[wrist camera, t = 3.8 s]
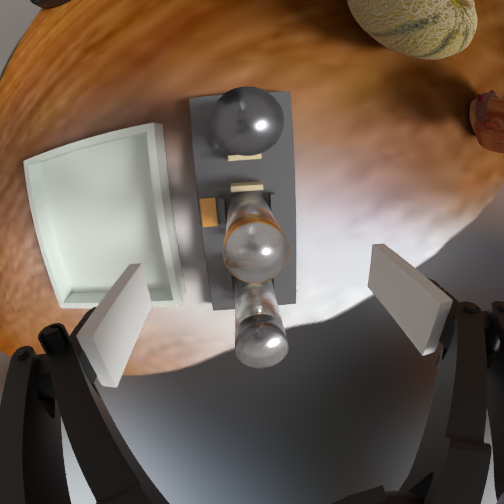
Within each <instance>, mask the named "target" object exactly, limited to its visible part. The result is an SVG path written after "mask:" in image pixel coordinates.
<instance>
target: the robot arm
mask: <svg viewBox="0 0 504 504" xmlns="http://www.w3.org/2000/svg"><path fill="white" fill-rule="evenodd" d="M30 1H31V2H32V3H33V4H35V5H37V6H39V7H41V8H52V7H56V6H59V5H61V4H64V3H66V2H68V1H70V0H30ZM368 288H369V289H370V290H371V291H372V292H373V293H374V295H375V296H376V297H377V298H378V299H379V301H380V302H381V303H382V304H383V305H384V307H385V308H386V309H387V311H388V312H389V313H390V314H391V315H392V317H393V318H394V319H395V320H396V322H397V323H398V324H399V326H400V327H401V328H402V329H403V331H404V332H405V333H406V335H407V336H408V337H409V339H410V340H411V341H412V342H413V344H414V345H415V346H416V348H417V349H418V350H419V352H420V353H421V354H422V355H426V354H429V353H432V352H434V351H435V350H436V347H437V345H438V342H439V341H440V343H441V344H442V345H443V348H442V350H441V353H440V355H439V357H438V360H437V362H436V365H437V364H438V362H439V367H438V372H437V378H436V384H435V389H434V393H433V398H432V403H431V407H430V411H429V415H428V419H427V422H426V426H425V429H424V433H423V436H422V439H421V443H420V446H419V449H418V452H417V454H416V457H415V460H414V463H413V466H412V468H411V471H410V473H409V475H408V477H407V478H406V480H405V481H404V483H403V484H402V486H401V487H400V489H399V491H384V488H383V486H379V487H376V488H373V489H370V490H367V491H363V492H360V493H357V494H353V495H350V496H347V497H345V498H343V499H341V500H339V501H337V502H335V503H332V504H481V500H482V496H483V493H484V488H485V484H486V480H487V475H488V470H489V464H490V458H491V446H490V444H486V443H484V432H485V423H486V410H488V415H489V421H490V429H491V437H492V446H493V461H494V481H495V490H496V498H497V504H504V302H502V301H495V302H493V303H492V305H491V308H490V310H489V311H481V309H480V308H479V307H478V306H477V305H475V304H474V303H471V302H458V301H457V300H456V299H455V298H454V297H453V296H452V295H450V294H449V293H448V292H447V291H445V289H443V288H442V287H441V286H440V285H439V284H438V283H436V282H435V281H433V280H431V279H429V278H427V277H425V276H424V275H423V274H422V273H420V272H419V271H418V270H416V269H415V268H414V267H413V266H412V265H410V264H409V263H408V262H407V261H405V260H404V259H403V258H402V257H400V256H399V255H398V254H396V253H395V252H394V251H393V250H391V249H390V248H389V247H387V246H386V245H385V244H374V245H372V255H371V264H370V273H369V281H368ZM151 307H152V302H151V298H150V295H149V291H148V287H147V283H146V279H145V275H144V271H143V266H142V263H137V264H129V266H128V267H127V268H126V269H125V271H124V272H123V273H122V274H121V276H120V277H119V278H118V279H117V281H116V282H115V283H114V285H113V286H112V287H111V289H110V290H109V291H108V292H107V294H106V295H105V296H104V298H103V299H102V300H101V302H100V303H99V304H98V306H97V307H93V308H92V309H91V310H89V311H88V312H87V313H86V314H85V315H84V317H83V318H82V320H81V321H80V322H79V323H78V325H77V326H76V328H75V329H74V330H73V332H72V333H71V335H70V336H69V335H68V333H67V331H66V329H65V327H64V325H63V324H60V323H55V324H51V325H49V326H47V327H45V328H44V329H43V330H41V332H40V333H39V335H38V339H39V341H40V343H41V345H42V347H43V349H44V351H45V352H46V354H39V355H36V353H35V351H34V349H33V348H32V347H30V346H24V347H20V348H19V349H17V350H16V352H15V353H14V354H13V356H12V358H11V361H10V365H9V369H8V372H7V376H6V381H5V385H4V390H3V394H2V399H1V405H0V504H71V501H70V496H69V491H68V485H67V479H66V473H65V466H64V458H63V448H62V436H61V417H62V420H63V423H64V426H65V429H66V432H67V435H68V438H69V441H70V443H71V446H72V449H73V451H74V453H75V456H76V459H77V461H78V463H79V466H80V468H81V470H82V472H83V475H84V477H85V479H86V481H87V483H88V485H89V487H90V489H91V491H92V493H93V495H94V497H95V499H96V502H97V503H96V504H169V503H168V501H167V500H166V499H165V498H164V496H163V495H162V494H161V493H160V492H159V490H158V489H157V488H156V486H155V485H154V484H153V482H152V481H151V480H150V478H149V477H148V475H147V474H146V473H145V471H144V470H143V468H142V467H141V465H140V464H139V463H138V461H137V459H136V458H135V456H134V455H133V454H132V452H131V450H130V449H129V447H128V445H127V444H126V442H125V440H124V439H123V437H122V435H121V434H120V432H119V430H118V428H117V427H116V425H115V423H114V421H113V419H112V417H111V416H110V414H109V412H108V410H107V408H106V406H105V404H104V402H103V400H102V398H101V396H100V394H99V392H98V389H97V387H96V386H95V384H94V381H95V379H96V377H97V378H98V379H99V381H100V383H101V384H102V386H108V387H117V386H118V384H119V381H120V379H121V376H122V374H123V371H124V369H125V366H126V364H127V361H128V359H129V357H130V354H131V352H132V350H133V347H134V345H135V343H136V340H137V338H138V336H139V333H140V331H141V329H142V327H143V324H144V322H145V320H146V318H147V316H148V313H149V311H150V309H151ZM499 343H500V348H499V351H498V348H497V347H498V345H499Z"/></svg>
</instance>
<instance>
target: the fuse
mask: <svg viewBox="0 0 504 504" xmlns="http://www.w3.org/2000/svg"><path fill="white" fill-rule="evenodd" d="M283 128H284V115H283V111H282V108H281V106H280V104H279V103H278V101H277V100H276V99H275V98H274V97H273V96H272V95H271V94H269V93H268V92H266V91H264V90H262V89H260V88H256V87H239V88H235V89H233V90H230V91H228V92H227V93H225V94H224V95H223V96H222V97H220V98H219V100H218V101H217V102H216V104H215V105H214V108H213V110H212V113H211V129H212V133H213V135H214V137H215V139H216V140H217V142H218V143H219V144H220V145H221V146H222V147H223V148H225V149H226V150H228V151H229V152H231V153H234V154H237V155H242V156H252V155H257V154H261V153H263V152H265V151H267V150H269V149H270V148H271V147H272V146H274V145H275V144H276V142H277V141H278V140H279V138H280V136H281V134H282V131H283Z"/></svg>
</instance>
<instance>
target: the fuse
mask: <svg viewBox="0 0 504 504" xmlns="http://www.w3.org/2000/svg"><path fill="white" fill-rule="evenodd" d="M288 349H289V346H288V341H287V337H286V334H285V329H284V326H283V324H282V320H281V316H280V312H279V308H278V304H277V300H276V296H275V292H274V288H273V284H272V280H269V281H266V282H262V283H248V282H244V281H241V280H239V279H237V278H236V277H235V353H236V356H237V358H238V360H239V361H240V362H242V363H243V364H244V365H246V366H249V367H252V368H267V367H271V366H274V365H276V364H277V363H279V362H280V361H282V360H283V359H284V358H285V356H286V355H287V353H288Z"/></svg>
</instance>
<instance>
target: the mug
mask: <svg viewBox="0 0 504 504" xmlns="http://www.w3.org/2000/svg"><path fill="white" fill-rule="evenodd" d="M470 121H471V125H472V128H473V130H474V132H475V134H476V137H477V140H478V142H479V144H480V145H481V146H482V147H483V148H486V149H488V150H491V151H494V152H498V153H504V97H499V96H498V95H497V94H496V93H495V92H494V91H493V90H491V91H490V92H489V93H482V94H481V95H478V97H477V98H476V99H474V100H473V101H472V102H471V104H470Z"/></svg>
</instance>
